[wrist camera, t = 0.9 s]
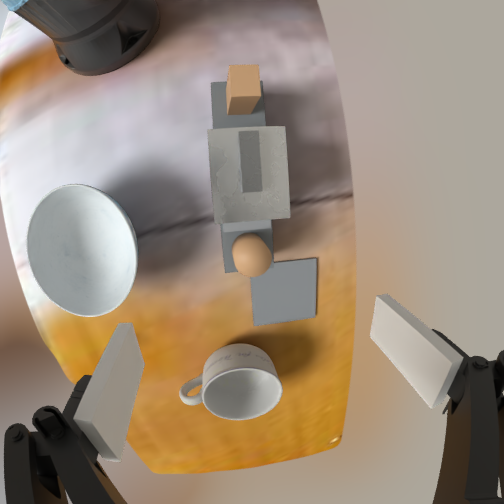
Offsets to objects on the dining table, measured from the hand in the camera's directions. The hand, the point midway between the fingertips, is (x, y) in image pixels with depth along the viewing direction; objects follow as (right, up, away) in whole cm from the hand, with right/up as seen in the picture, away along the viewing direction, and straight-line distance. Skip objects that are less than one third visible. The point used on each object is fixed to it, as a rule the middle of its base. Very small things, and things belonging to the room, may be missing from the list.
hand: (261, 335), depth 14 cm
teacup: (-4, -13, +26) cm, 30 cm away
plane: (-2, +14, +19) cm, 24 cm away
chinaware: (-20, +6, +19) cm, 29 cm away
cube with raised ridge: (-1, +12, +14) cm, 19 cm away
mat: (+4, -1, +24) cm, 24 cm away
